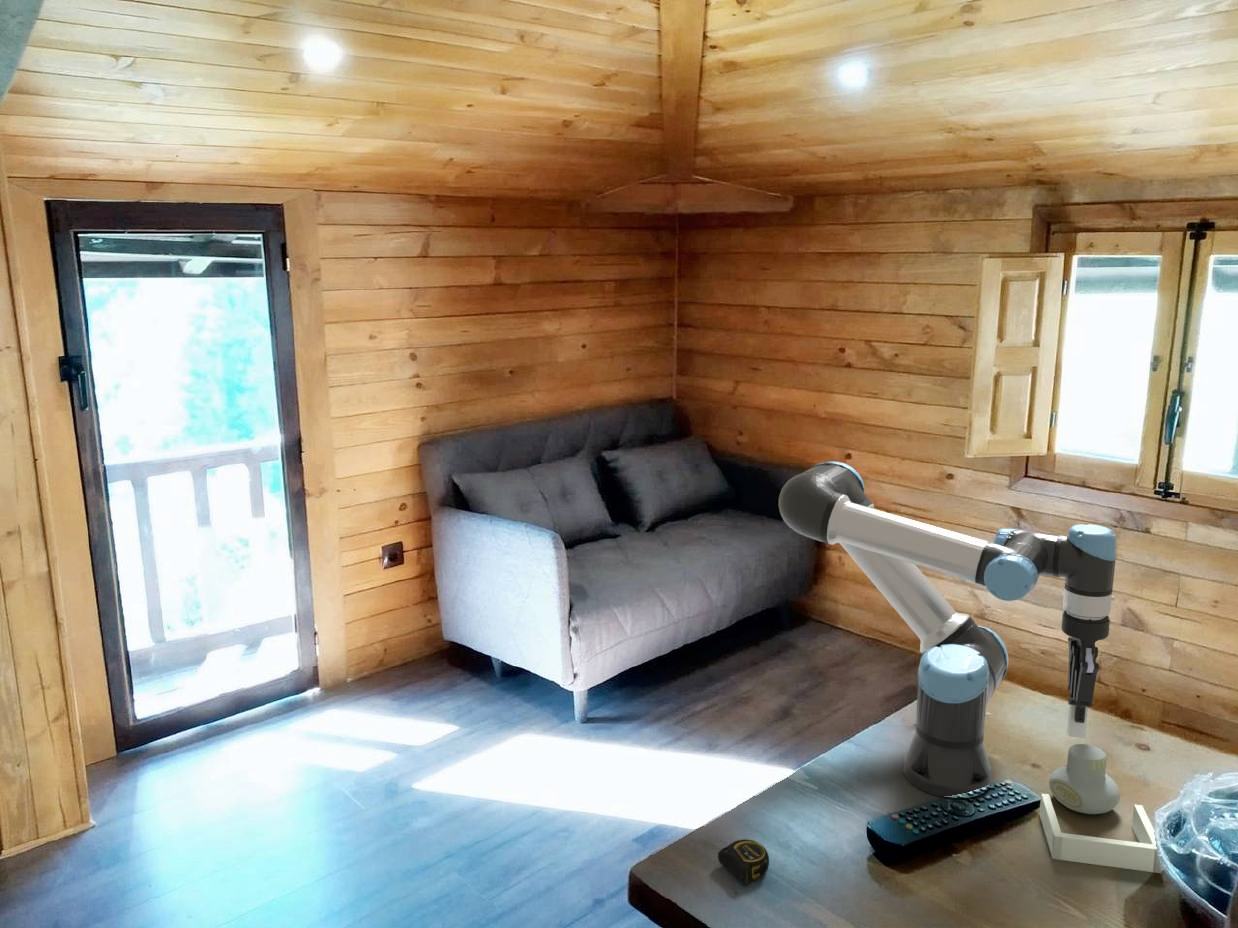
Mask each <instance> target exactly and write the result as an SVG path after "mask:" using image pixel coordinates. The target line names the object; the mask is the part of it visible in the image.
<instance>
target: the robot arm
mask: <svg viewBox="0 0 1238 928" xmlns="http://www.w3.org/2000/svg"><path fill="white" fill-rule="evenodd" d="M778 508H779V513H780V516H781V518H782V519H783V522H784V523H785V524H786V525H787V526H788V527H789V528H790V529H791V530H793V531H795V532H796V533H798V534H799V535H802V536H805V537H807V538H809V539H812V540H815V541H819V542H823V543H825V544H828V545H832V546H833V545H835V544H840V545H841V547H842V549H844V550H845V551H846V553H847V554H848V555H849V556H850V557H851V558H852V560H853V561H854V562H855V564H856V565H857V566H858V567H859V569H861V570H862V572H863V573H864V574H865V575H866V577H867V578H868V579H869V580H870V581H871V582H872V584H873V585H874V586H875V587H876V588H877V590H878V592H880V593H881V594H882V596H883V597H884V598H885V599H886V600H887V601H888V603H889V604H890V605H891V606H892V608H894V610H895V611H896V612H897V613H898V615H899V616H900V617H901V618H902V620H904V622H905V623H906V624H907V625H908V627H909V628H910V629H911V630H912V631H913V632H914V633H915V635H916V636H917V637H918V639H919V640H920V642H919V643H920V646H919V652H920V653H921V654H922V656H921V658H920V661H919V666H918V669H917V681H918V682H917V694H916V695H917V698H916V716H915V717H916V718H915V732H914V734H913V737H912V739H911V741H910V744H909V745H908V748H907V750H906V752H905V755H904V759H903V774H904V776H905V778H906V780H907V781H909V783H911V784H912V785H913V786H915V787H916V788H918V789H920V790H921V791H924V792H925V793H928V794H931V795H934V796H937V797H941V796H952V795H957V794H962V793H967V792H970V791H973V790H976V789H979V788H982V787H985V786H987V785H989V784H991V785H992V775H993V774H992V768H991V763H990V761H989V757H988V753H987V750H986V746H985V744H984V739H985V738H984V737H985V726H986V725H985V724H986V712H987V711H986V710H987V707H988V703H989V702H990V701H991V699H992V697H993V695H994V693H995V692H996V691H997V688H998V687H999V686H1000V685H1001V684H1002V683H1003V681H1004V679H1005V678H1006V674H1007V671H1008V666H1009V652H1008V649H1007V647H1006V644H1005V643H1004V641H1003V639H1001V637H1000V636H999V635H998V634H997V633H996V632H994V630H992V629H990V628H988V627H986V626H981V625H978V624H977V623H976V621H975V620H974V619H973V618H972V617H971V616H970V615H969V614H968V613H960V612H956V610H955V609H954V608H953V607H952V605H950V603H949V602H948V601H947V600H946V598H944V596H943V595H942V594H941V593H940V592H939V590H938V589H937V588H936V587H935V586H934V585H933V583H932V582H930V580H929V578H927V577H926V576H925V574H924V573H923V572H922V570H921V569H920V568H918V566H919V567H922V568H926V569H929V570H932V571H935V572H939V573H941V574H945V575H948V576H951V577H954V578H959V579H962V580H965V581H966V582H967V581H968V582H971V583H975V584H978V585H981V586H983V587H985V588H986V589H987V591H988V592H989V593H990V594H991V595H992V596H994V597H995V598H997V599H999V600H1001V601H1005V602H1014V601H1018V600H1021V599H1022V598H1024V597H1026V595H1028V594H1029V593H1030V592H1031V591H1032V590H1033V589H1034V588H1035V586H1036V585H1037V583H1038V580H1039V578H1040V577H1041V576H1047V577H1054V578H1064V587H1063V599H1062V600H1063V601H1062V608H1063V611H1062V617H1061V631H1062V632H1063V633H1064V634H1065V635H1067V636H1068V638H1067V641H1068V673H1067V675H1068V676H1067V677H1068V678H1067V691H1069V695H1068V697H1069V699H1068V700H1067V701H1068V702H1067V703H1068V706H1069V707H1068V717H1067V719H1068V720H1067V730H1066V731H1067V732H1066V733H1067V736H1068V737H1069V738H1079V739H1080V738H1082V739H1086V732H1087V722H1088V720H1087V719H1088V709H1089V708H1092V706H1093V698H1094V692H1095V687H1096V680H1097V674H1098V672H1099V668H1100V664H1099V663H1098V662H1096V661H1097V658H1098V656H1099V647H1098V646H1096V642H1098V641H1102V640H1105V639H1107V637H1109V634H1110V633H1109V632H1110V625H1111V624H1110V623H1111V618H1110V616H1109V615H1110V614H1111V610H1112V602H1115V600H1116V598H1115V596H1114V595H1113V588H1114V580H1115V579H1114V577H1115V569H1116V568H1115V567H1116V559H1117V554H1116V552H1117V551H1116V550H1117V536H1116V533H1115V532H1114V531H1113V530H1112V529H1111V528H1108V527H1105V526H1102V525H1099V524H1098V525H1097V524H1090V523H1089V524H1081V523H1080V524H1075V525H1073V526H1071V527H1069V530H1068V533H1067V534H1064V535H1063V534H1056V533H1048V532H1041V531H1035V530H1025V529H1022V528H1000V529H998V531H997V532H996V534H995V537H994V539H993V542H991V541H989V540H984V539H981V538H978V537H973V536H970V535H967V534H964V533H961V532H960V533H959V532H957V531H953V530H949V529H946V528H943V527H938V526H936V525H932V524H928V523H926V522H922V521H918V520H914V519H912V518H911V519H910V518H907V517H904V516H900V515H897V514H894V513H890V512H887V511H883V510H879V509H876V508H875V504H874V503H873V502H872V501H871V499H870V498H869V497H868V495H866V494H865V483H864V481H863V478H862V477H861V475H860V474H859V472H857V470H855V469H854V468H853V467H852V466H850V465H848V464H847V463H844V462H840V461H826V462H822V463H818V464H815V465H813V466H812V467H810V468H809V469H807V470H805V471H803V472H801V473H798V474H797V475H794V476H793V477H791V478H789V480H787V482H785V484H784V485H783V487H782V488H781V490H780V493H779V497H778Z"/></svg>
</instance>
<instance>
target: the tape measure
mask: <svg viewBox="0 0 1238 928" xmlns="http://www.w3.org/2000/svg"><path fill="white" fill-rule="evenodd" d="M717 860H718V862H719V864H720V865H721V866H723V868H725V869H726V870H727V871H729V873H731V874H732V875H733V876H734V877H735V878H736V880H737V881H738V882H740V883H741V884H742V885H745V886H746V885H748V884H750V883H751V881H756V880H757V881H758V880H760V879H762V878H763V877H764V876H765V874H766V873H767V872H768V869H769V864H770V857H769V852H768V851H767V849H766V848H765V846H763V845H762V844H761V843H759V842H757V841H756V840H752V839H738V840H734V841H733V842H731V843H729V845H727V846H725V847H723V848H721V849H720V850H719V851H718V852H717Z"/></svg>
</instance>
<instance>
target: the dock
mask: <svg viewBox="0 0 1238 928" xmlns="http://www.w3.org/2000/svg"><path fill="white" fill-rule="evenodd" d="M1132 810H1133V812H1132V820H1131V829H1133V832H1134V834H1135V837H1136V838H1137V841H1138V842H1137V841H1129V840H1120V839H1114V838H1105V837H1097V836H1092V835H1091V836H1090V835H1082V834H1075V833H1065V832H1062V831H1061V827H1060V824H1059V822H1058V818H1057V815H1056V811H1055V809H1054V806H1053V803H1052V800H1051V796H1050V794H1048V793H1041V794H1040V803H1039V818H1040V822H1041V824H1042V828H1043V832H1044V835H1045V839H1046V842H1047V844H1048V848H1049V851H1050V855H1051V859H1052V860H1057V861H1058V860H1059V861H1065V862H1067V861H1068V862H1074V863H1082V864H1088V865H1097V866H1104V867H1111V868H1118V869H1127V870H1132V871H1133V870H1135V871H1140V872H1149V873H1156V874H1162V869H1163V866H1162V867H1161V863H1160V859H1159V856H1158V852H1157V847H1156V841H1155V835H1154V832H1155V833H1156V830H1155V829H1154V827H1153V824H1152V823H1151V820H1150V819H1149V817H1148V814H1147V812H1146V811H1145V808H1144V806H1143V805H1141V804H1133V809H1132Z"/></svg>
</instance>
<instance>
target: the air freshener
mask: <svg viewBox="0 0 1238 928" xmlns="http://www.w3.org/2000/svg"><path fill="white" fill-rule="evenodd" d="M1067 753H1068V754H1067V760H1066V764H1065V765H1062V766H1060V767H1058V768H1056V769H1054V771H1053V772H1052V773H1051V775H1050V776H1049V781H1048V785H1049V790H1050V791H1051V793H1052V795H1053V796H1054V797H1055V799H1056V800H1057V801H1058V802H1059V803H1061V804H1062V805H1063V806H1065V807H1066V808H1068V809H1069V810H1071V811H1073V812H1078V813H1081V814H1086V815H1101V814H1104V813H1105V814H1106V813H1108V812H1110V811H1112V810H1113V809H1115V807H1117V806H1118V804H1119V801H1120V800H1121V793H1120V789H1119V786H1118V785H1117V783H1116V782H1115V781H1114V779H1113V778H1112V777H1111V776H1109V774H1107V773H1106V771H1107V770H1106V769H1107V760H1108V759H1107V757H1108V756H1107V754H1106V753H1105V752H1104V750H1102V749H1100V748H1099V747H1096V746H1094V745H1090V744H1087V743H1077V744H1073V745H1071V746H1070V747H1069V748H1068V752H1067Z"/></svg>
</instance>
